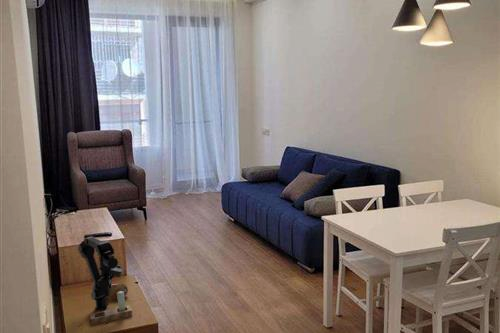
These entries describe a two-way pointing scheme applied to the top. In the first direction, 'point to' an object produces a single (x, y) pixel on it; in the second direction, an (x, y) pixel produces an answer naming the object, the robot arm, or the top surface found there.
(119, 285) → the tin
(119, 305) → the post
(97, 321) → the brown slotted board
